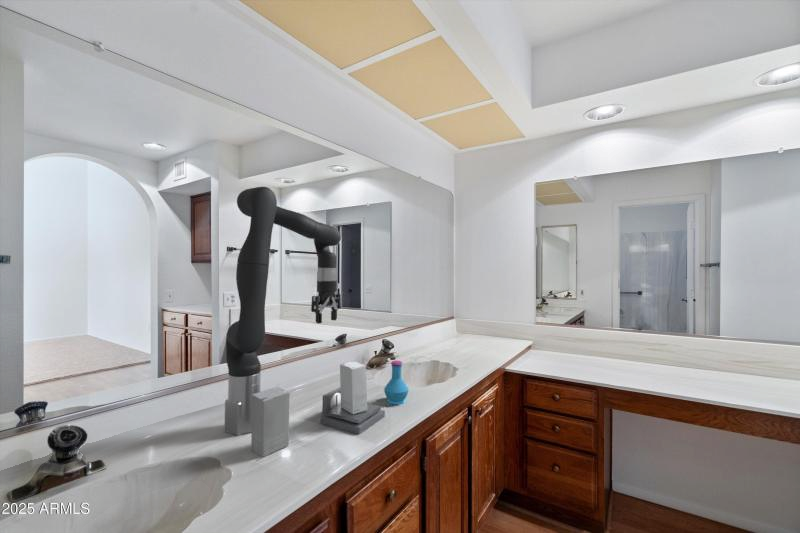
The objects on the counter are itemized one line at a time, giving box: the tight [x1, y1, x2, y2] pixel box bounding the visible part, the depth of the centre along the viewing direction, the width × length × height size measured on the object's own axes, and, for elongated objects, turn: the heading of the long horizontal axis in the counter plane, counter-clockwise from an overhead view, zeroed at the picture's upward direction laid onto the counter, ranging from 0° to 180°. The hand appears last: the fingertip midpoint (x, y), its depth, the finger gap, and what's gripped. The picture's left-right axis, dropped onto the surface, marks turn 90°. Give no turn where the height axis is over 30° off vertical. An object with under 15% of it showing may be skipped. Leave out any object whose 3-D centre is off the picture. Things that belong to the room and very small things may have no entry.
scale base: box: [320, 387, 386, 435], centre depth 120 cm, size 15×17×8 cm
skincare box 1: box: [250, 386, 291, 458], centre depth 100 cm, size 8×7×16 cm
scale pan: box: [326, 402, 382, 424], centre depth 120 cm, size 13×13×2 cm
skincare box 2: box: [339, 360, 368, 414], centre depth 120 cm, size 8×6×15 cm
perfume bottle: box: [383, 360, 409, 406], centre depth 138 cm, size 9×9×15 cm
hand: (326, 321), depth 140 cm, fingers open, 8 cm apart
